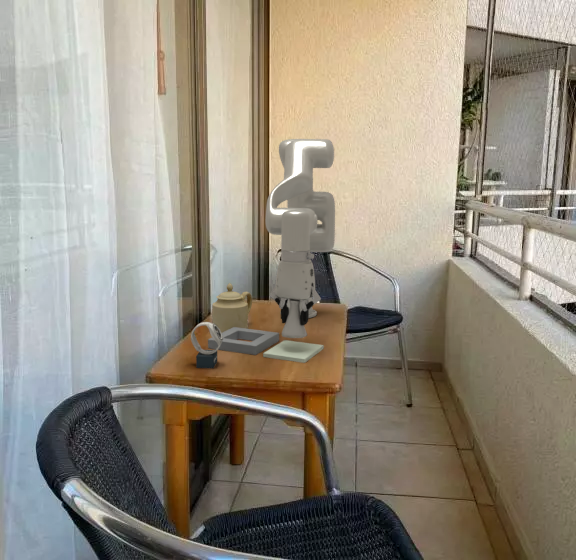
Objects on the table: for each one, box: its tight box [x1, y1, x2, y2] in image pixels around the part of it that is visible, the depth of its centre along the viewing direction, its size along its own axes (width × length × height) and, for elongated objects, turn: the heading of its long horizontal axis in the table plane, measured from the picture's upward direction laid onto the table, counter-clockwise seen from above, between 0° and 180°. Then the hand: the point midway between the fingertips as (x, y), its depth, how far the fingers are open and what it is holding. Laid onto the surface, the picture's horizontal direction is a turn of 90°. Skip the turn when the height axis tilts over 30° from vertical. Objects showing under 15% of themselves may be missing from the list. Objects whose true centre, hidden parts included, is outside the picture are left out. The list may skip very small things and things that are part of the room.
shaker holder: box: [207, 327, 280, 356], centre depth 169 cm, size 15×15×2 cm
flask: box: [280, 299, 308, 339], centre depth 160 cm, size 7×7×10 cm
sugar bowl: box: [211, 282, 253, 333], centre depth 185 cm, size 15×11×15 cm
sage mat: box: [262, 339, 325, 364], centre depth 162 cm, size 14×12×1 cm
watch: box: [190, 321, 223, 369], centre depth 150 cm, size 6×8×11 cm
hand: (294, 322), depth 161 cm, fingers closed on flask, 4 cm apart
